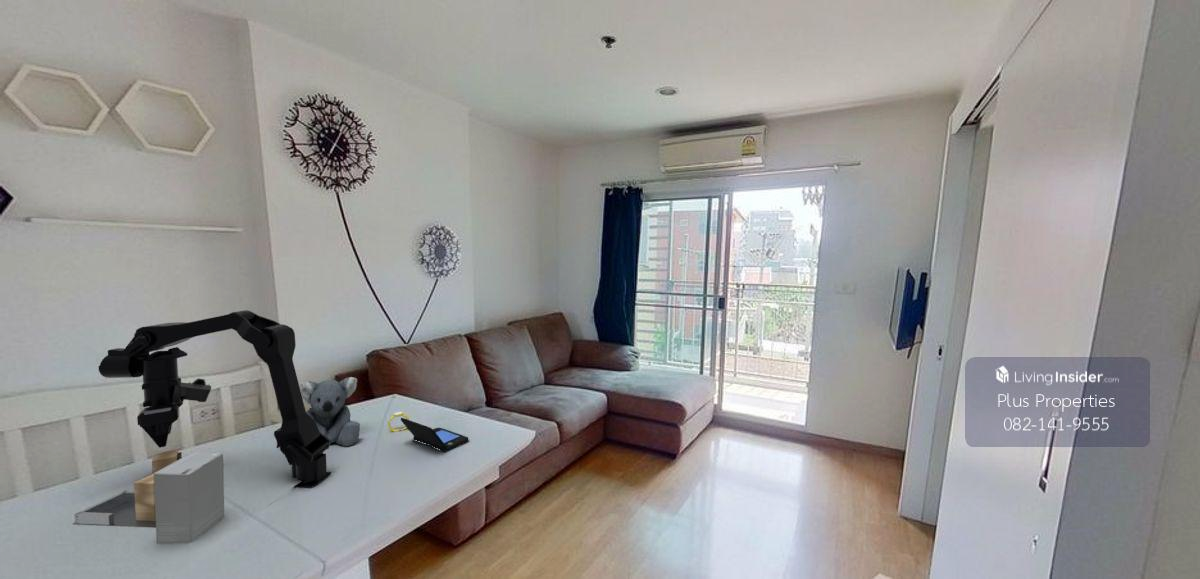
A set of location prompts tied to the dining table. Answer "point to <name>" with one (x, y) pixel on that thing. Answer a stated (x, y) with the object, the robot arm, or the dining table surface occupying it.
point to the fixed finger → (145, 499)
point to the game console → (434, 436)
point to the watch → (397, 416)
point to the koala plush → (332, 409)
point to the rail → (113, 513)
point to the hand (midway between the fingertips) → (164, 440)
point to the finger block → (164, 459)
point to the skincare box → (189, 497)
